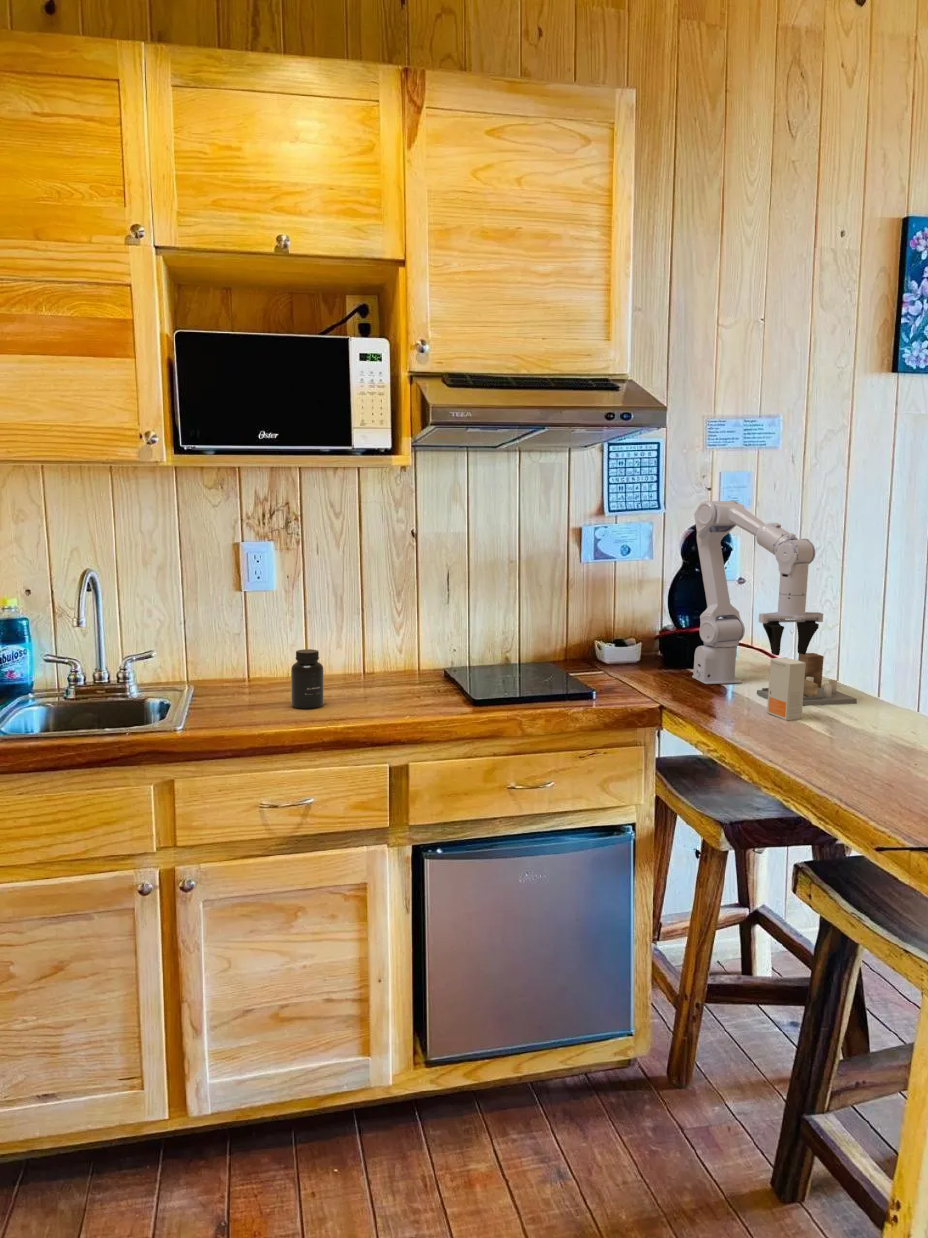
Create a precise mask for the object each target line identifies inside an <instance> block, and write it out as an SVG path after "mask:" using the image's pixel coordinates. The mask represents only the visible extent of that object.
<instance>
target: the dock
mask: <svg viewBox="0 0 928 1238" xmlns="http://www.w3.org/2000/svg"><path fill="white" fill-rule="evenodd" d="M806 680H808V681H811V682H814V678H813V677H806ZM837 684H838V680H836V679H829V682H828V683H824V685H823V687H821V688H817V696H816V697H809V696H807V695H805V694H803V706H820V705H821V706H823V705H824V706H825V705H845V704H846V705H847V704H848V705H849V704H857V702H858V699H857V698H856V697H853V696H851V695H848V694H845V693H843V692H840V691H838V690H837V688H838V687H837ZM768 690H769V687H762V688H761V689H757V690H756V695H757V696H759V697H762V698H764V699H766V700H768Z"/></svg>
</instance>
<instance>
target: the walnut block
mask: <svg viewBox="0 0 928 1238" xmlns="http://www.w3.org/2000/svg"><path fill="white" fill-rule="evenodd" d="M824 659H825V658H824V655H821V654H818V653H815V652H806V654H805V655H802V654H799V653H798V658H797V660H798V661H801V662H805V663H806V666H805V678H804V679H806V677H813V678H814V683H816V684H818V688H822V685H823V684H822V683H823V682H822V681H823V670H824Z"/></svg>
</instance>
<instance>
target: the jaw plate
mask: <svg viewBox="0 0 928 1238" xmlns="http://www.w3.org/2000/svg"><path fill="white" fill-rule="evenodd" d="M817 688H818V684H816V683H814V682H811V681H808V680H806V679H804V692H803V694H805V695H807V696H809V697H816V696H817Z"/></svg>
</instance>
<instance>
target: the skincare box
mask: <svg viewBox="0 0 928 1238" xmlns="http://www.w3.org/2000/svg"><path fill="white" fill-rule="evenodd" d="M769 664H770V665H769V674H768V675H769V680H768V688H769V690H768V699H767V706H766V713H767V714H769V715H771V716H775V717H777V718H780V719H782V720H784V721H792V720H800V719H802V716H803V706H804V705H803V692H804V678H805V666H806V663H805V662H801V661H798V659H793V658H790V657H783V656H782V657H774V658H773V657H772V658H770V662H769Z"/></svg>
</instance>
